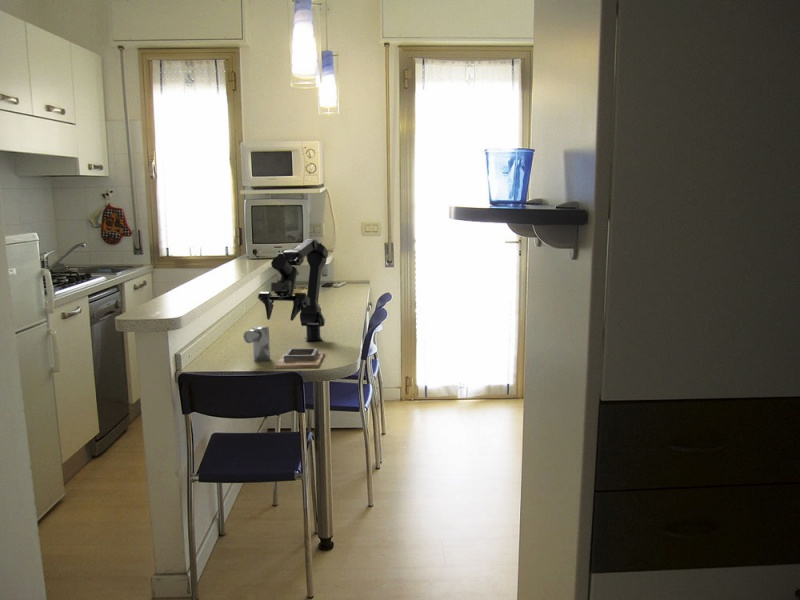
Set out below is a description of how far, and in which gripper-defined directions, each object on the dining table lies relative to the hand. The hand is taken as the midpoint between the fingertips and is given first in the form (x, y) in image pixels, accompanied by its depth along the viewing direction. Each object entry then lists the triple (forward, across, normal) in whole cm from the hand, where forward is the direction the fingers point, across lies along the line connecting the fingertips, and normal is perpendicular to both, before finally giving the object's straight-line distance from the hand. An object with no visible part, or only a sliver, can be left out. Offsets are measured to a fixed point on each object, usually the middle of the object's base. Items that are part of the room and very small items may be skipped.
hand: (279, 320), depth 234 cm
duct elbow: (+15, -7, +5) cm, 17 cm away
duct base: (+13, +8, +7) cm, 17 cm away
